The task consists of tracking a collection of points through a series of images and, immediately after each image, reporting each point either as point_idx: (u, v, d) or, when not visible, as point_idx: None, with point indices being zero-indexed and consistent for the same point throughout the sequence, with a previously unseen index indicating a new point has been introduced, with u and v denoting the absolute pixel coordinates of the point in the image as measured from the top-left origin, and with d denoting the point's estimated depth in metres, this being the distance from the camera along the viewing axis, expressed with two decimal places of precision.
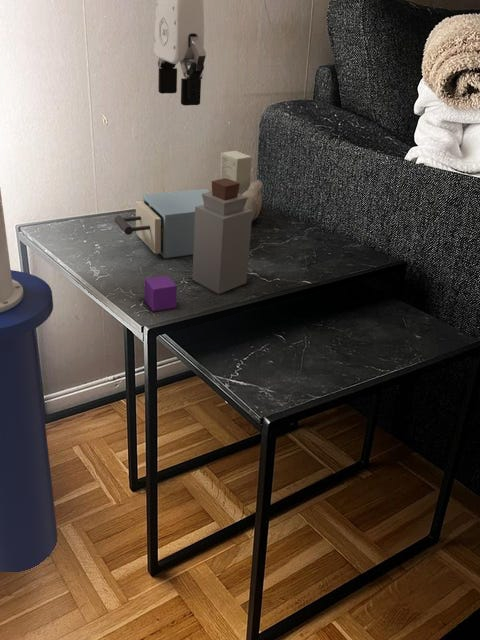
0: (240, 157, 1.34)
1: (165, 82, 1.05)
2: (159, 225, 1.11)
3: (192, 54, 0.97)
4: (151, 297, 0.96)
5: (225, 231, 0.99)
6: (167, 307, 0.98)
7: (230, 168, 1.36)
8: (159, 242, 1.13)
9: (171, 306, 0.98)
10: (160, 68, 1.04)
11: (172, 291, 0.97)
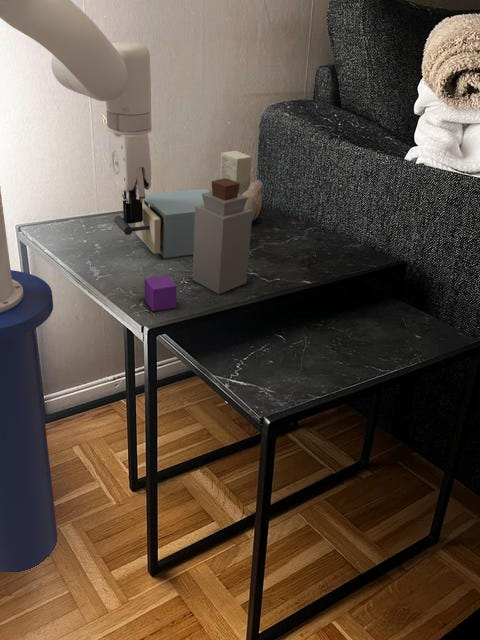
0: (240, 157, 1.34)
1: None
2: (158, 225, 1.11)
3: None
4: (151, 297, 0.96)
5: (225, 231, 0.99)
6: (167, 307, 0.98)
7: (230, 169, 1.36)
8: (158, 242, 1.13)
9: (171, 306, 0.98)
10: (124, 200, 1.12)
11: (172, 291, 0.97)
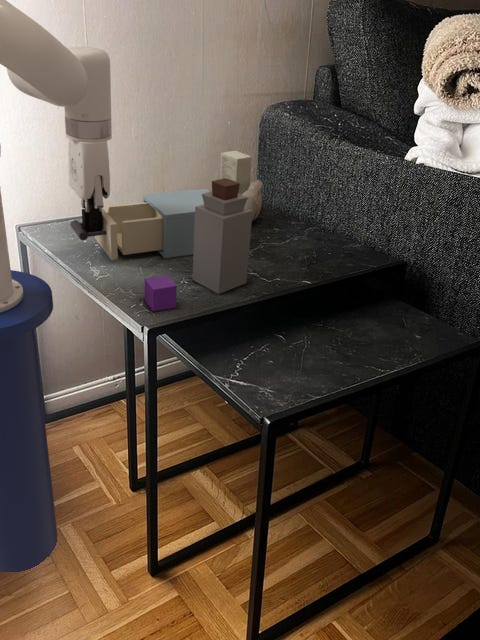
0: (240, 157, 1.34)
1: None
2: (115, 230, 1.08)
3: None
4: (151, 297, 0.96)
5: (225, 231, 0.99)
6: (167, 307, 0.98)
7: (230, 169, 1.36)
8: (115, 248, 1.10)
9: (171, 306, 0.98)
10: (83, 209, 1.09)
11: (172, 291, 0.97)
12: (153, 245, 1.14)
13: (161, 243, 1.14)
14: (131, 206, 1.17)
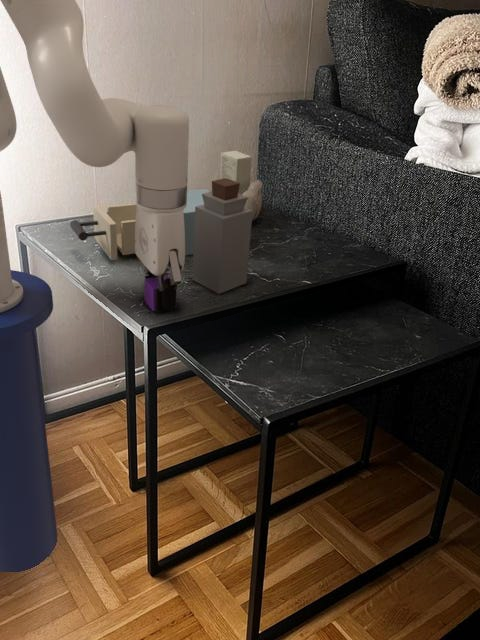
0: (240, 157, 1.34)
1: None
2: (114, 230, 1.08)
3: None
4: (151, 297, 0.96)
5: (225, 231, 0.99)
6: None
7: (230, 169, 1.36)
8: (115, 248, 1.10)
9: None
10: (147, 276, 0.99)
11: None
12: None
13: None
14: (131, 206, 1.17)
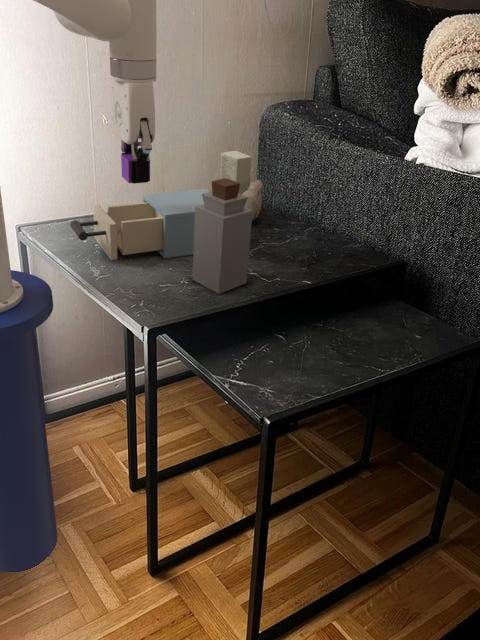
0: (240, 157, 1.34)
1: None
2: (114, 230, 1.08)
3: None
4: (127, 169, 1.07)
5: (225, 231, 0.99)
6: None
7: (230, 169, 1.36)
8: (115, 248, 1.10)
9: None
10: (123, 153, 1.09)
11: None
12: (153, 245, 1.14)
13: (161, 243, 1.14)
14: (131, 206, 1.17)
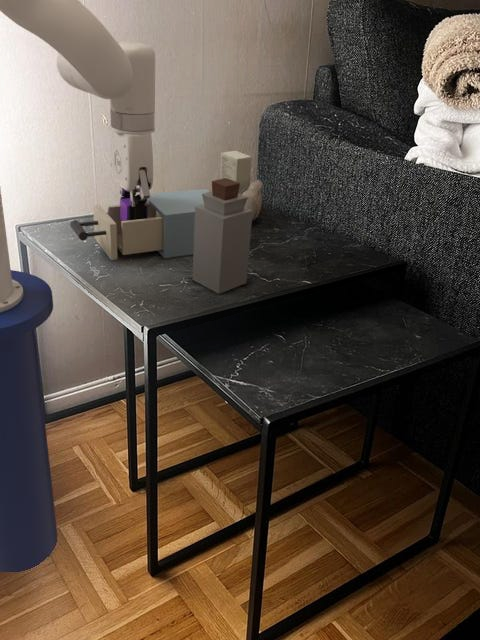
0: (240, 157, 1.34)
1: None
2: (115, 230, 1.08)
3: None
4: (125, 214, 1.12)
5: (225, 231, 0.99)
6: None
7: (230, 169, 1.36)
8: (115, 248, 1.10)
9: None
10: (122, 197, 1.14)
11: None
12: (153, 245, 1.14)
13: (161, 243, 1.14)
14: None
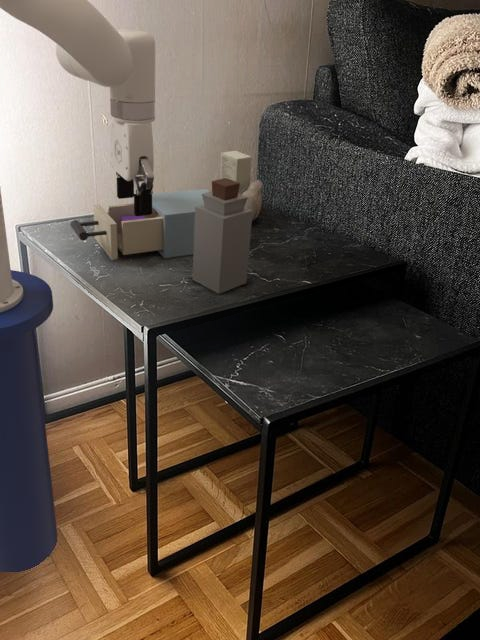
0: (240, 157, 1.34)
1: (123, 189, 1.15)
2: (115, 230, 1.08)
3: None
4: None
5: (225, 231, 0.99)
6: None
7: (230, 169, 1.36)
8: (115, 248, 1.10)
9: None
10: (118, 177, 1.14)
11: None
12: (153, 245, 1.14)
13: (161, 243, 1.14)
14: (131, 206, 1.17)
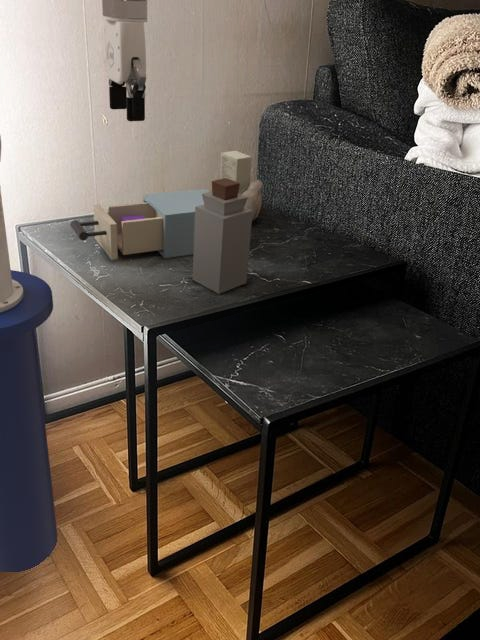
0: (240, 157, 1.34)
1: (115, 99, 1.15)
2: (115, 230, 1.08)
3: None
4: None
5: (225, 231, 0.99)
6: None
7: (230, 169, 1.36)
8: (115, 248, 1.10)
9: None
10: None
11: None
12: (153, 245, 1.14)
13: (161, 243, 1.14)
14: (131, 206, 1.17)
